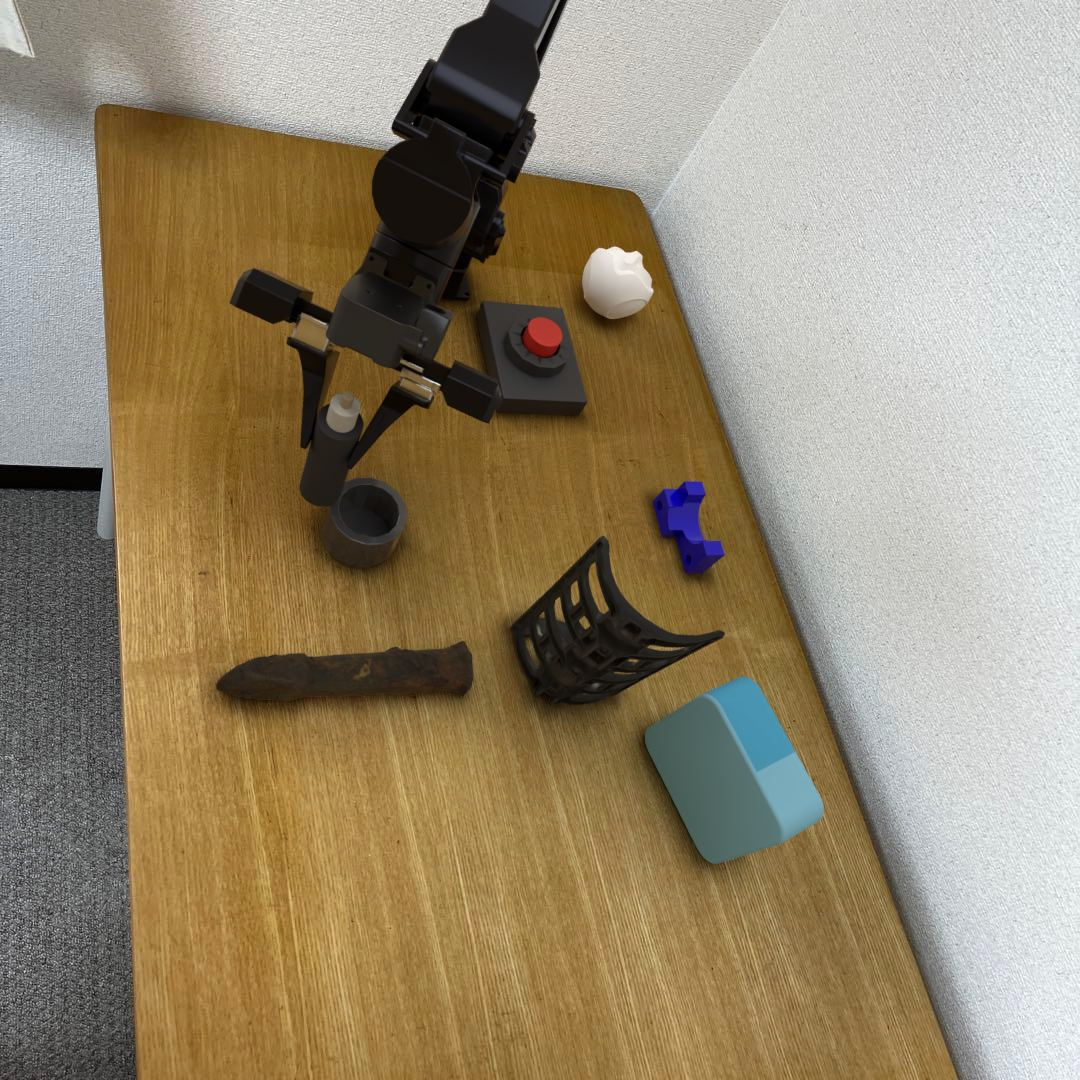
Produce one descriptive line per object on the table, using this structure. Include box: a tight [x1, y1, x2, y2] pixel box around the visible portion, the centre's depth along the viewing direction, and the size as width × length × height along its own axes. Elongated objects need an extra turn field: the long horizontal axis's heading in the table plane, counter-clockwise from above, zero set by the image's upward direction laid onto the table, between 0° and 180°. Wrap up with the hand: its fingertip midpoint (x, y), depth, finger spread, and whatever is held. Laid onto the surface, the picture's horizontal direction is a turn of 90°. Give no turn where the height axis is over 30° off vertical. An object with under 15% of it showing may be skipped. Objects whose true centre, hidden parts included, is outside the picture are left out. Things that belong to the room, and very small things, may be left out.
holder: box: [509, 535, 726, 707], centre depth 69 cm, size 11×8×20 cm
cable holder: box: [651, 480, 726, 575], centre depth 87 cm, size 8×4×4 cm, turn 12°
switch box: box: [475, 300, 589, 416], centre depth 90 cm, size 12×9×4 cm
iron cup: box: [321, 476, 408, 569], centre depth 74 cm, size 6×6×4 cm
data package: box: [644, 676, 825, 865], centre depth 71 cm, size 12×4×12 cm, turn 27°
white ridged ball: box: [581, 246, 654, 320], centre depth 97 cm, size 8×8×8 cm
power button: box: [522, 317, 562, 357], centre depth 88 cm, size 4×4×2 cm
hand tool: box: [215, 640, 474, 703], centre depth 68 cm, size 19×4×5 cm, turn 99°
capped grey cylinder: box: [298, 390, 364, 508], centre depth 65 cm, size 3×3×12 cm
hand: (326, 457), depth 64 cm, fingers closed on capped grey cylinder, 3 cm apart
